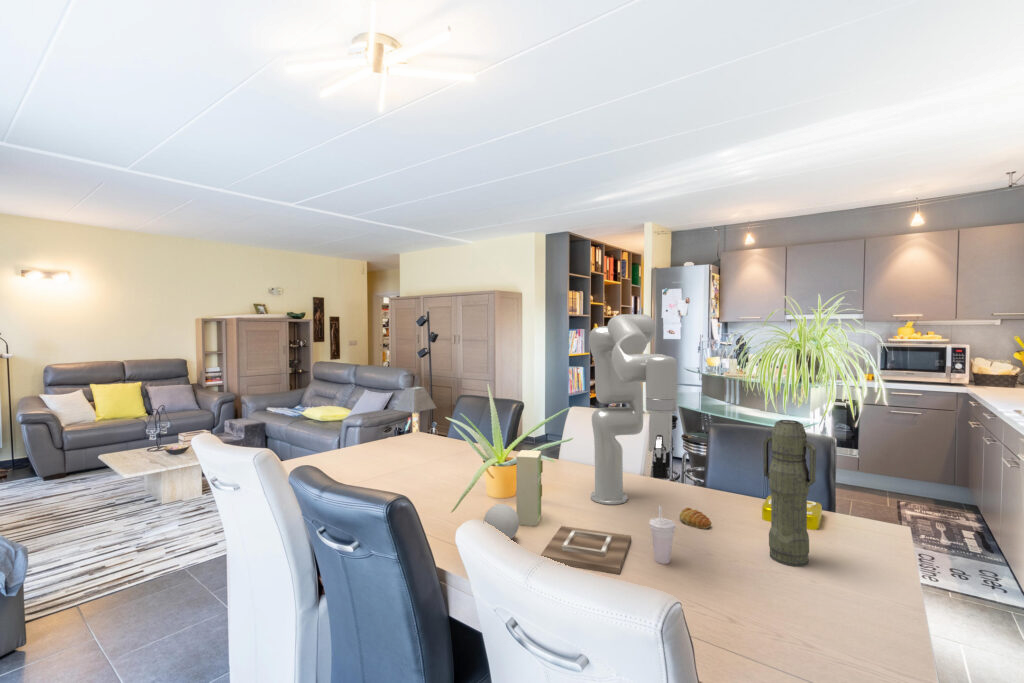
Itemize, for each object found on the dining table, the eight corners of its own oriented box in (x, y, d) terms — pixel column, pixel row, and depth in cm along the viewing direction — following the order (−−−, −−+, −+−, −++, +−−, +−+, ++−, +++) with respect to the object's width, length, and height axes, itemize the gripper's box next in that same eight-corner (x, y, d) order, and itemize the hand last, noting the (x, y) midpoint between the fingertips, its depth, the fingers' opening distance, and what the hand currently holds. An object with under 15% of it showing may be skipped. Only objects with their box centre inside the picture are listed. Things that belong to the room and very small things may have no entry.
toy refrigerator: (540, 527, 148) (539, 457, 147) (516, 525, 149) (515, 456, 149) (544, 517, 155) (543, 450, 155) (521, 515, 157) (520, 449, 156)
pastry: (717, 527, 146) (717, 515, 146) (701, 532, 143) (701, 519, 143) (692, 517, 155) (692, 505, 154) (676, 521, 151) (676, 509, 151)
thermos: (812, 572, 119) (812, 427, 118) (758, 557, 126) (759, 421, 125) (819, 559, 125) (819, 421, 124) (768, 546, 133) (768, 416, 132)
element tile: (768, 506, 163) (768, 492, 163) (822, 516, 155) (822, 501, 154) (760, 521, 151) (760, 505, 151) (818, 532, 142) (818, 516, 142)
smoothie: (645, 555, 128) (645, 501, 128) (669, 554, 129) (669, 500, 129) (654, 567, 122) (654, 510, 122) (679, 565, 123) (679, 509, 122)
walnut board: (561, 530, 144) (561, 521, 144) (631, 540, 137) (631, 531, 137) (540, 560, 126) (540, 550, 126) (619, 574, 119) (619, 563, 118)
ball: (524, 536, 141) (524, 501, 141) (510, 550, 132) (510, 513, 132) (493, 531, 145) (493, 497, 145) (477, 544, 136) (476, 508, 136)
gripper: (649, 399, 134) (649, 462, 134) (641, 409, 118) (642, 480, 118) (678, 401, 131) (679, 465, 132) (674, 411, 115) (675, 484, 116)
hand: (661, 472), depth 125 cm, fingers open, 9 cm apart
